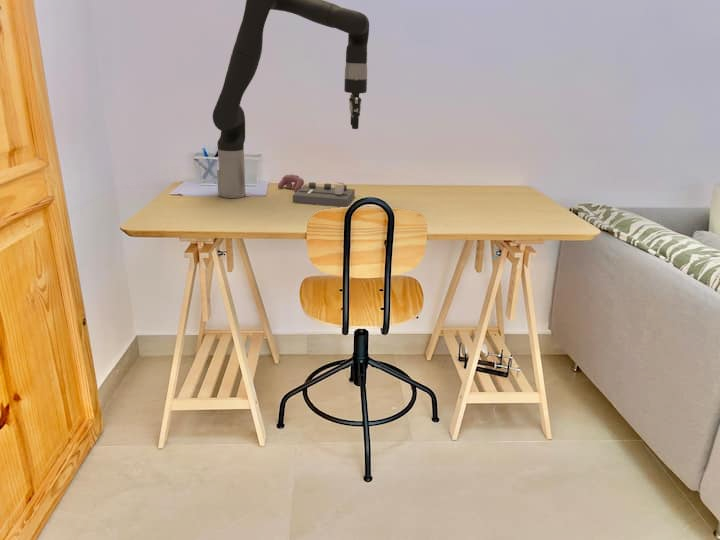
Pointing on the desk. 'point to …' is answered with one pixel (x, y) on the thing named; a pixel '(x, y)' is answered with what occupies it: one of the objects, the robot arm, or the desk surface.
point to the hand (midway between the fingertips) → (354, 127)
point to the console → (323, 195)
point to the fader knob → (339, 188)
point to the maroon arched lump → (288, 181)
